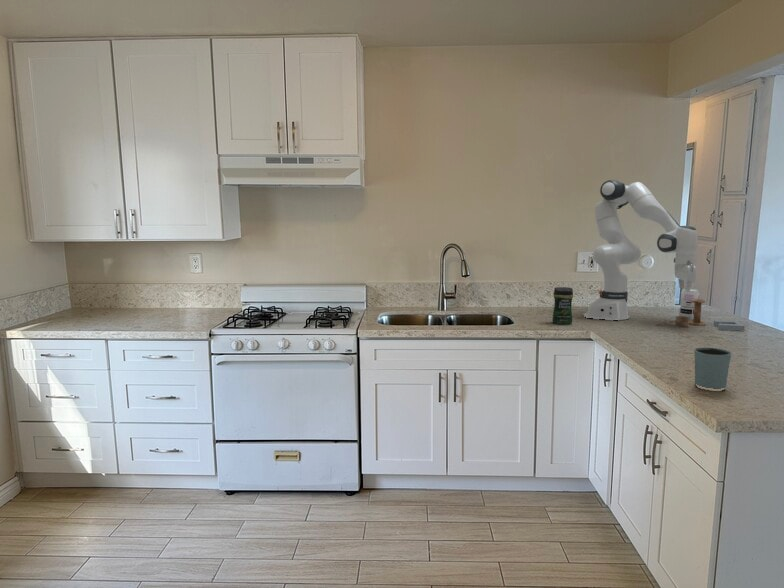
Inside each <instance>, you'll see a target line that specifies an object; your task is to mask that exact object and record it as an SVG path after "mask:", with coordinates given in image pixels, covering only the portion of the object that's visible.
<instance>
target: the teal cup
mask: <svg viewBox="0 0 784 588" xmlns="http://www.w3.org/2000/svg"><path fill="white" fill-rule="evenodd" d="M693 350H694V385H695V384H697V385H699V386H702V387H706V388H713V389H721V388H725V387H726V388H727V384H728V380H727V379H728V373H729V367H730V362H731V358H732V352H731V351H729V350H726V349H723V348H715V347H697V348H694V349H693Z"/></svg>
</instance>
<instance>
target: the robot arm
mask: <svg viewBox="0 0 784 588" xmlns="http://www.w3.org/2000/svg"><path fill="white" fill-rule="evenodd" d="M599 189H600V190H599V192H600V193H599V194H600V196H601V197H602V198H603V199H602V200H600V201H599V202H597V203H596V204H595V206H594V215H595V222H596V225H597V229H598V232H599V233H598V234H599V236H600V237H601V239H603V240H604V241H605V242H607V243H605V244H601V245H598V246H596V247H595V248H594V249H593V253H592V257H593V260H594V262H595V263H596V264H597V265H598V266H599V267H600V268H601V271H602V274H603V277H604V278H603V282H604V283H603V284H604V285H603V287H604V288H603V289H604V290H601V289H600V290H599V291H598V294H599V297H598V298H597V299H596V300H594V301H593V302H591V303H590V304H589V305H588V309H587V311H586V312H584V313H583V315H584V316H583V318H585V317H586V318H585V319H587V318H593V319H592V320H599V319H605V320H604V321H613V320H618V321H622V320H627V319H630V316H629V311H628V299H629V297H628V296H629V293H628V276H627V275H626V273H624V272H622V270H621V268H620V265H631V264H633V263H636V262H638V261H639V260H640V259H641V253H642V251H641V249H640V246H638V245H637V244H635V243H634V242H632V241H631V240H630V238H628V236H627V235H626V234H625V232H624V230H623V227H622V225H621V222H620V218H619V215H618V211H617V210H620V209H621V208H623V207H624V206H626V205H628V204H629V205H630V206H631V208H632V210H633V211H634V212H635V213H636V214H637V215H638V217H640V218H641V219H645V220H649V221H652V222H656V223H658V224H659V225H660V226H661V227H662V228H663V229H664V231H666V233H662V234H660V235H659V236H658V237H657V240H656V247H657V248H658V250H659V251H660V252H662V253H669V254H670V253H675V256H674V258H673V263H674V277H675V278H676V279H678V287H679V289H685V290H686V291H690V289H691V287H692V283H696V281H697V267H696V265H697V260H698V252H697V248H698V243H699V240H698V239H699V238H698V237H699V236H698V230H697V228H696V227H695V226H690V225H680V224H679V223H678V222H677V221H676V220H675V218H674V217H673V216H672V215H671V214H670V213H669V211H667V210H666V208H665V207H663V206H662V205H661V204H660V202H659V201H658V200H657V199H656V197H655V196H654V195H653V193H652V192H651V191H650V189H649V188H648V187H647V186H646V185H645V184H644V183H642V182H640V181H634V182H632V183H630V184H628V185H626V184H625V183H623V182H621V181H619V180H615V179H609V180H606V181H604V182H603V183H602V184H601V186H600V188H599ZM684 282H685V284H684Z"/></svg>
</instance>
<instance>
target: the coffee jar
mask: <svg viewBox="0 0 784 588" xmlns="http://www.w3.org/2000/svg"><path fill="white" fill-rule="evenodd" d="M573 290H574V289H573V287H569V286H568V287H567V286H560V287H559V286H557V287H556V286H555V287H554V290H553V298H554V305H553V306H554V307H553V314H552V323H553V324H555V325H566V324H567V325H572V323H573V310H572V307H573V306H572V301H573V297H574V291H573Z"/></svg>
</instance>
